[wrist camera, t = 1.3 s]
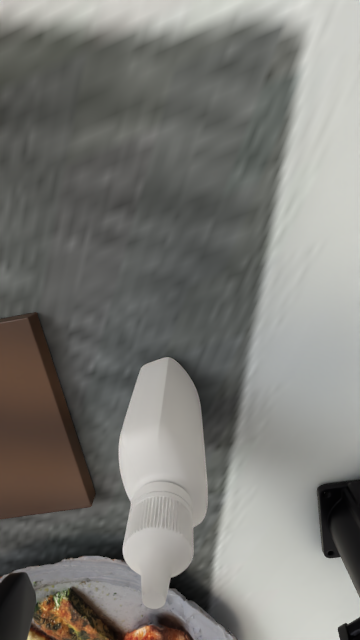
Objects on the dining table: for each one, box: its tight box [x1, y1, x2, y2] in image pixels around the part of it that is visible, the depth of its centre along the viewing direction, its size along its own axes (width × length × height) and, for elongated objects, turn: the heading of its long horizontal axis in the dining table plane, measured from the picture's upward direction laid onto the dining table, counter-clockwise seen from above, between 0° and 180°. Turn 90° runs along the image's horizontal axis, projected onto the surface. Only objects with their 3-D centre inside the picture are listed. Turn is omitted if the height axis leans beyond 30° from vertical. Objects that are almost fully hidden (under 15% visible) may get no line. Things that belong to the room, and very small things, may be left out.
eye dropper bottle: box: [119, 357, 208, 609], centre depth 15 cm, size 4×6×12 cm
